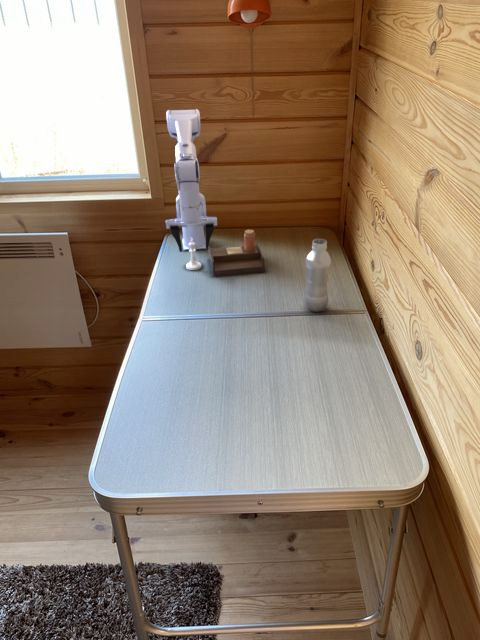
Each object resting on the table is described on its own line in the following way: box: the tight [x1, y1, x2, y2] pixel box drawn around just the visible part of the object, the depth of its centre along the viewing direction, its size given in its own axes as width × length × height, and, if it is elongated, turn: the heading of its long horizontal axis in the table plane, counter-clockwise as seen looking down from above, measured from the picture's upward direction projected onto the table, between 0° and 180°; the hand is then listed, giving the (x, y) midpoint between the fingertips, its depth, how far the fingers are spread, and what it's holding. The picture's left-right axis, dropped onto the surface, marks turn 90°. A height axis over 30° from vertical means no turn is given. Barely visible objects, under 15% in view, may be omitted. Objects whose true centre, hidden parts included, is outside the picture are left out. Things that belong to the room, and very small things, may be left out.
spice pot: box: [243, 229, 256, 252], centre depth 165 cm, size 4×4×6 cm
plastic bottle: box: [303, 238, 332, 313], centre depth 138 cm, size 6×7×20 cm
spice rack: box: [208, 241, 265, 277], centre depth 165 cm, size 12×16×5 cm
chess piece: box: [185, 237, 202, 271], centre depth 163 cm, size 5×5×10 cm
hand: (193, 249), depth 153 cm, fingers open, 7 cm apart
